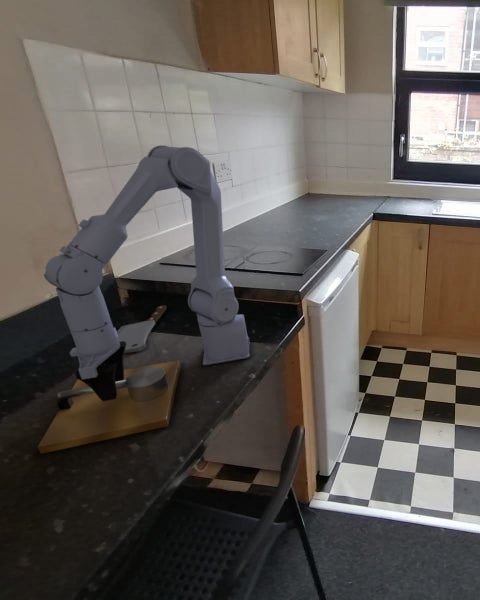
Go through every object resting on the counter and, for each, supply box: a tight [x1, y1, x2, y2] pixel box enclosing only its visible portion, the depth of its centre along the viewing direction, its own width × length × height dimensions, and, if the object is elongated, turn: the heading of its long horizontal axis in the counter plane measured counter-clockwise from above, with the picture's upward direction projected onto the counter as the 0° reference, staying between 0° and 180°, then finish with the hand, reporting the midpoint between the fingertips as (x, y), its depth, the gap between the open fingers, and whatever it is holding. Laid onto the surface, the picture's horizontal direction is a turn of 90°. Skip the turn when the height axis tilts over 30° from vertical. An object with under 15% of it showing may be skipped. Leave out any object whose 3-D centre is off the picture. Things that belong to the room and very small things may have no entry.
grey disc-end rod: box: [56, 367, 169, 410], centre depth 74 cm, size 17×6×3 cm, turn 111°
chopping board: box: [37, 359, 182, 455], centre depth 75 cm, size 18×20×2 cm
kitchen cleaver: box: [116, 304, 168, 354], centre depth 101 cm, size 24×1×10 cm
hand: (113, 390), depth 73 cm, fingers open, 5 cm apart
